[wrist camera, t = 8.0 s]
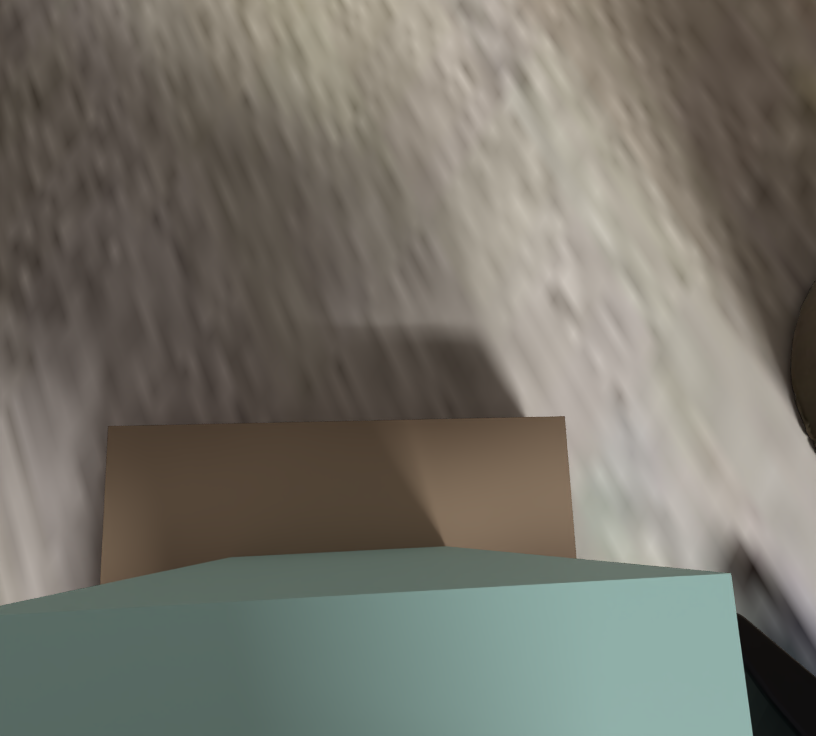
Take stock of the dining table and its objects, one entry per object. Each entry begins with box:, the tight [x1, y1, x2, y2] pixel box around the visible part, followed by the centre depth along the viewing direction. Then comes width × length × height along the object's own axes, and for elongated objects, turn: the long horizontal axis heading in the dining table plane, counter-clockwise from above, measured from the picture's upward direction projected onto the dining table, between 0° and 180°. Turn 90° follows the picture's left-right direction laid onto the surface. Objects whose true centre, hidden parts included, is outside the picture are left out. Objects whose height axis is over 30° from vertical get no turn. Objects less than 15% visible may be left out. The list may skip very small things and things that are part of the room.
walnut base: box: [100, 416, 576, 585], centre depth 18 cm, size 11×11×3 cm
